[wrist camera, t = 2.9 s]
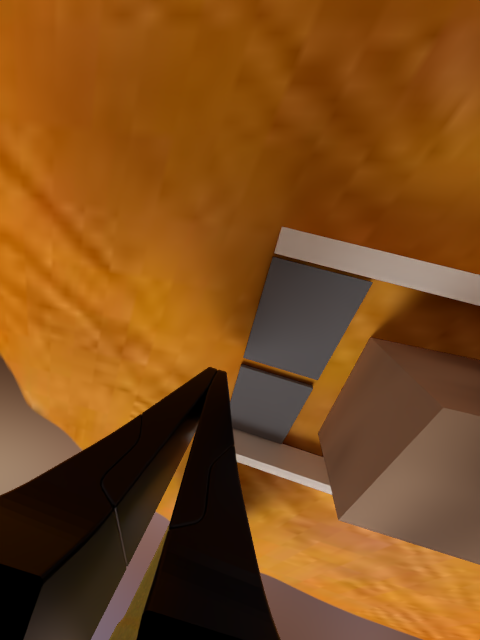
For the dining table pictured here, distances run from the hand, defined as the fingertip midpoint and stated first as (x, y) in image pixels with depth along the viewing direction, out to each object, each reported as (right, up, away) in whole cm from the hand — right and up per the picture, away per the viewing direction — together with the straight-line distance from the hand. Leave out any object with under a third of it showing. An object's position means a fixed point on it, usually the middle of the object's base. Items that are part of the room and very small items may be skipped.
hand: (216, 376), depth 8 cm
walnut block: (+10, -2, +1) cm, 10 cm away
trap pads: (+3, 0, +1) cm, 3 cm away
